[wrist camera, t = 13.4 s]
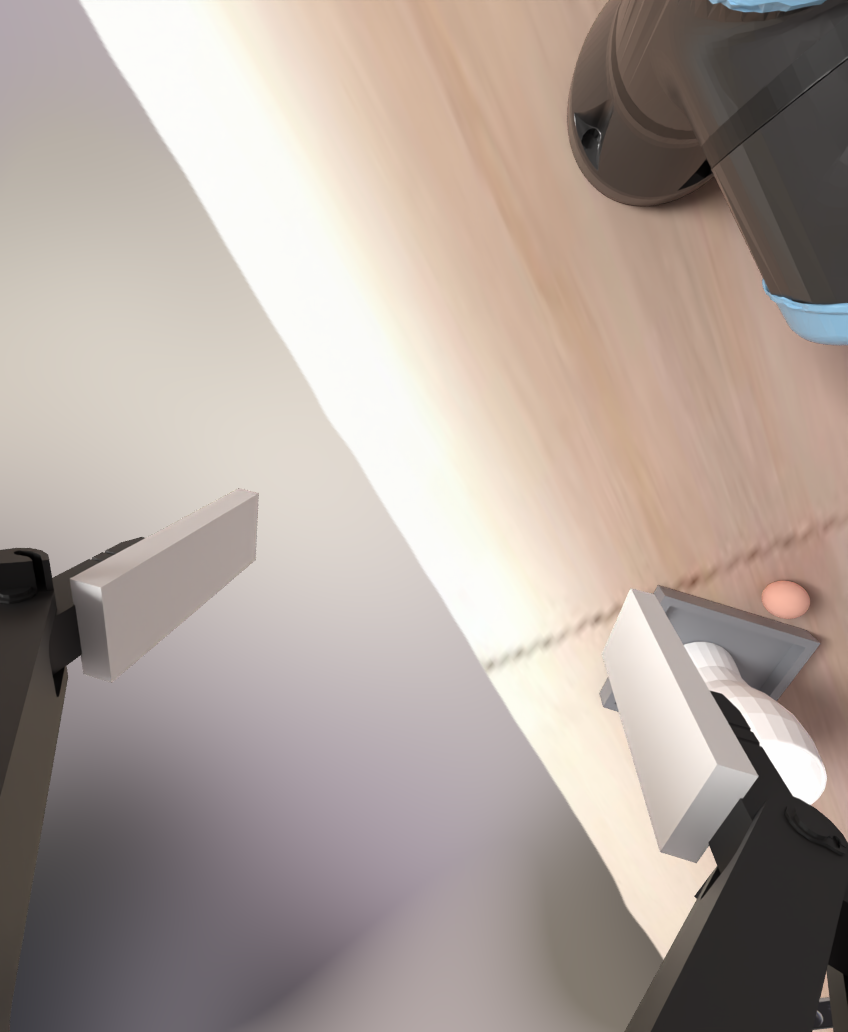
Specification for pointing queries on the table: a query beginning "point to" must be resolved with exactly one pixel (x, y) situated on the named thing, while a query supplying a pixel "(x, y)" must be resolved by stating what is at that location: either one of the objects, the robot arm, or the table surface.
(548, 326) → the table surface
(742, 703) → the cup
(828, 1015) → the smartphone
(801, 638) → the tray
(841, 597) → the table surface
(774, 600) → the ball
